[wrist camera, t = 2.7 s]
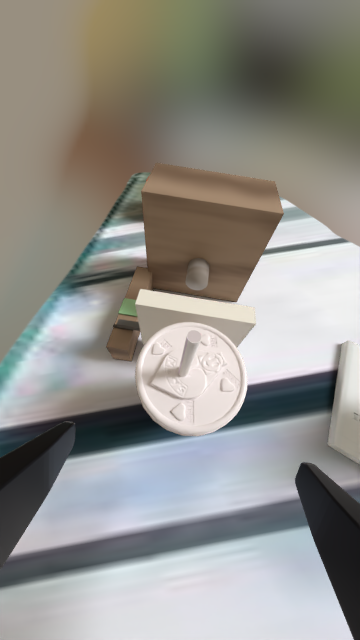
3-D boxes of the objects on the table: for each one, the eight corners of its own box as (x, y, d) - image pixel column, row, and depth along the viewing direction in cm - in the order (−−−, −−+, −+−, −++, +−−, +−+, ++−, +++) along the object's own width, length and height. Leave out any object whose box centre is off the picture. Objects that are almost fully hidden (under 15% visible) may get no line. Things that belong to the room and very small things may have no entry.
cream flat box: (228, 358, 20) (255, 323, 14) (120, 340, 20) (103, 298, 14) (228, 345, 21) (254, 307, 15) (124, 328, 21) (109, 283, 15)
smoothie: (138, 380, 20) (104, 287, 8) (196, 360, 21) (239, 259, 9) (157, 451, 17) (147, 476, 5) (222, 421, 18) (335, 385, 6)
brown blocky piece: (237, 379, 20) (312, 318, 10) (113, 358, 21) (65, 278, 10) (235, 271, 29) (274, 181, 19) (148, 256, 29) (141, 160, 19)
